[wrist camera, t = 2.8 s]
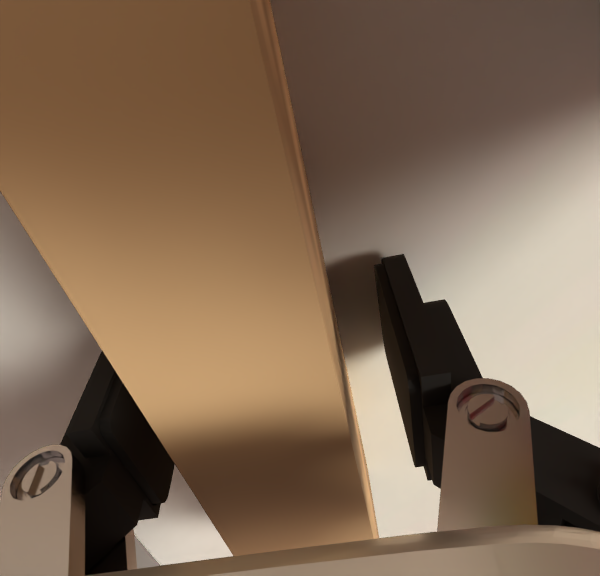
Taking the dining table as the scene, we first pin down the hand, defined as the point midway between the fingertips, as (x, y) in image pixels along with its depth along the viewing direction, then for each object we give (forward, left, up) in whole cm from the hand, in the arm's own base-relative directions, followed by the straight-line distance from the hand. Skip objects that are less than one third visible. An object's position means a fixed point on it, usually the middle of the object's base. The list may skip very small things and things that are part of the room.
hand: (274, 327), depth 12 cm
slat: (0, 0, -1) cm, 1 cm away
